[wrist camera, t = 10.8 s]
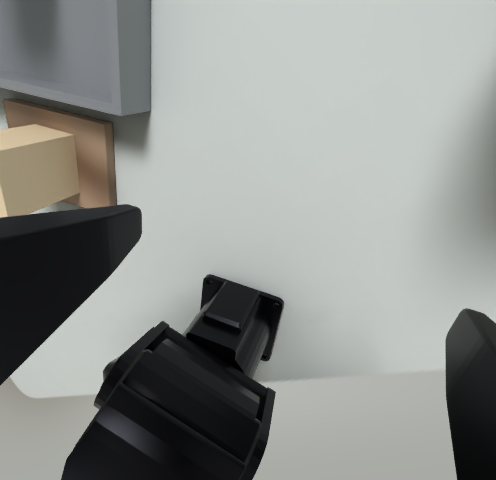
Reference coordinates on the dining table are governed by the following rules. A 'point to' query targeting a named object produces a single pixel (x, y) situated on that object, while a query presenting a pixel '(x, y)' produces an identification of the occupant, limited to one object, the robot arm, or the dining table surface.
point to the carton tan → (35, 169)
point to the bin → (79, 52)
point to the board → (76, 148)
